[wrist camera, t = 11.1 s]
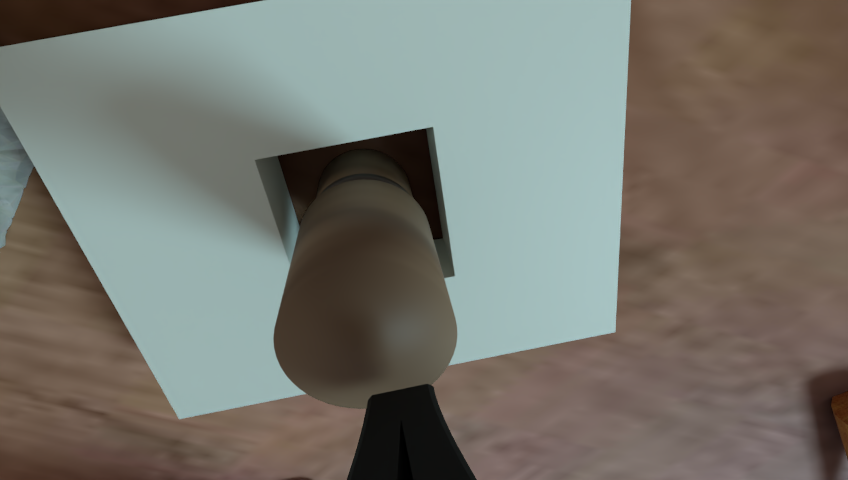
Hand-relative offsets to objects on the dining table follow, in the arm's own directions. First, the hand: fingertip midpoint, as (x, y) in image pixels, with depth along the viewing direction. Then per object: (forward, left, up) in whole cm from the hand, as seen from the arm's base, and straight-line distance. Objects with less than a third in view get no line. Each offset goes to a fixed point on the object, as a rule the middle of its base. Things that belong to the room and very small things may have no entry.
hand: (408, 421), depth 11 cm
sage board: (-1, +1, -10) cm, 10 cm away
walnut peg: (-1, +1, -10) cm, 10 cm away
